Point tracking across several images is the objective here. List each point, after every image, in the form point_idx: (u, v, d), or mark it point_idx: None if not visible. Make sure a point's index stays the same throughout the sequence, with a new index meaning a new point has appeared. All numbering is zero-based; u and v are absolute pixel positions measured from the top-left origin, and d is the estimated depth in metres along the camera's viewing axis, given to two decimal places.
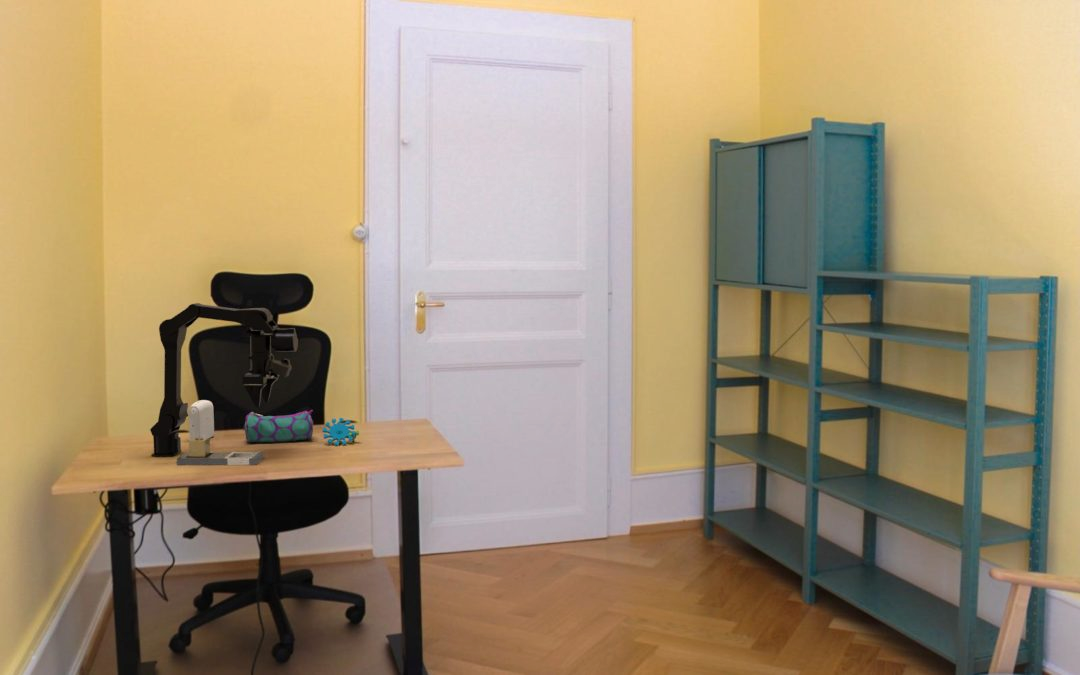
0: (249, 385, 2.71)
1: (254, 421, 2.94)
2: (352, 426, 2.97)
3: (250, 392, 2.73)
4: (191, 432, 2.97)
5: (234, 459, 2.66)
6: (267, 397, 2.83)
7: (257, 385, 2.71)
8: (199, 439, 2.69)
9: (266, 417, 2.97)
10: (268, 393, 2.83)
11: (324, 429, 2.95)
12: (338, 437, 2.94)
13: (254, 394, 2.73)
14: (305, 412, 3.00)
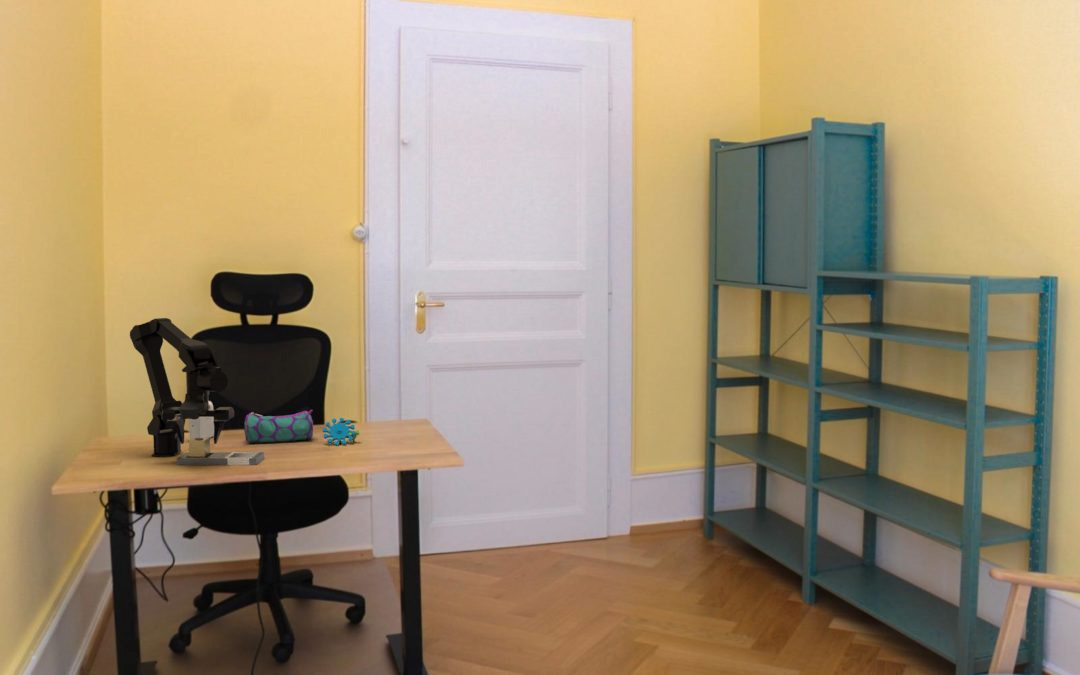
0: None
1: (254, 421, 2.94)
2: (352, 426, 2.97)
3: None
4: (191, 432, 2.97)
5: (234, 459, 2.66)
6: None
7: None
8: (199, 439, 2.69)
9: (266, 417, 2.97)
10: None
11: (324, 429, 2.95)
12: (338, 437, 2.94)
13: None
14: (305, 412, 3.00)
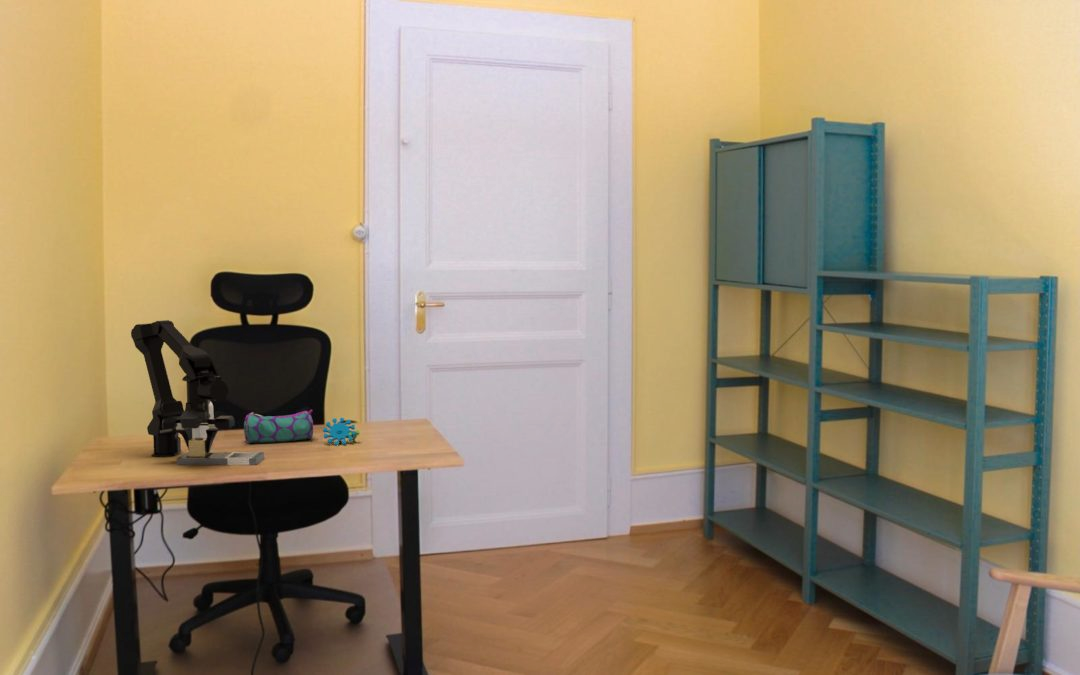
0: None
1: (255, 421, 2.94)
2: (352, 426, 2.97)
3: None
4: None
5: (234, 459, 2.66)
6: None
7: None
8: (199, 439, 2.69)
9: (266, 417, 2.96)
10: None
11: (324, 429, 2.95)
12: (338, 437, 2.94)
13: None
14: (305, 412, 3.00)
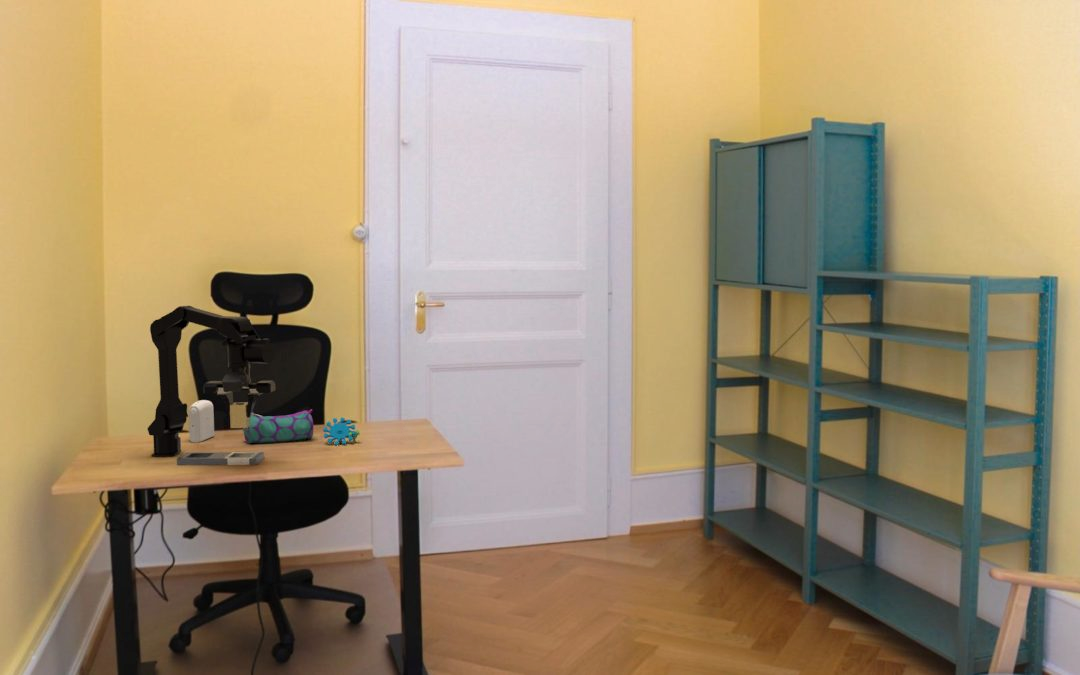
0: None
1: (255, 421, 2.94)
2: (353, 426, 2.97)
3: None
4: (191, 432, 2.97)
5: (234, 459, 2.66)
6: None
7: None
8: (240, 403, 2.68)
9: (266, 417, 2.96)
10: None
11: (325, 428, 2.95)
12: (338, 437, 2.94)
13: None
14: (305, 412, 3.01)
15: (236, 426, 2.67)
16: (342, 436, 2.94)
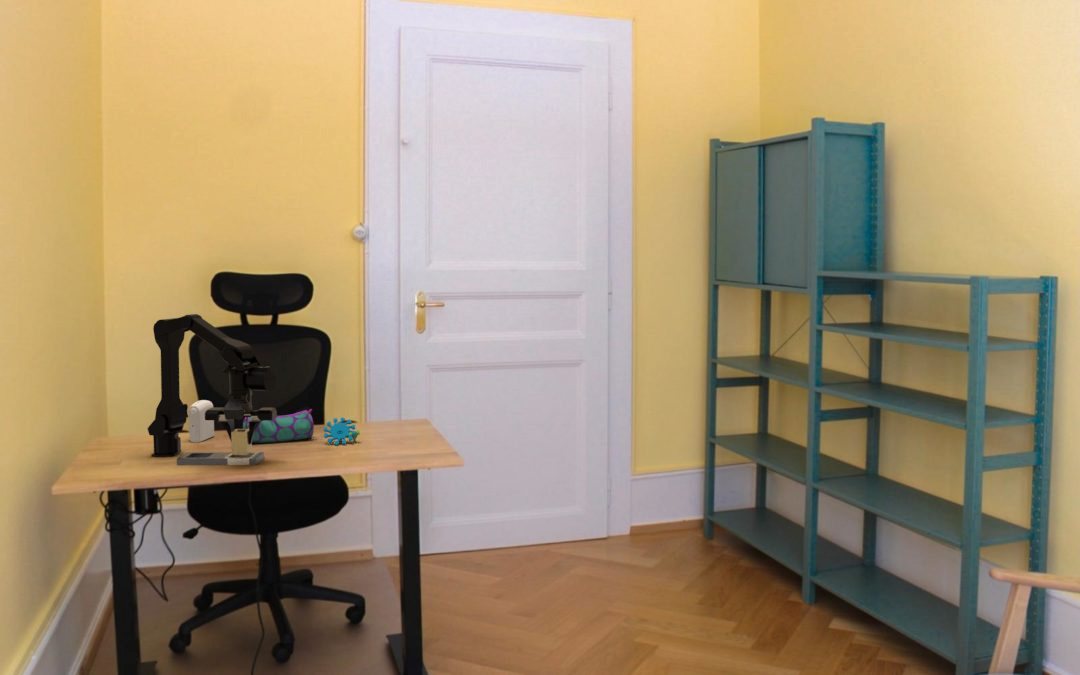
0: None
1: None
2: (353, 426, 2.97)
3: None
4: (191, 432, 2.97)
5: (234, 459, 2.66)
6: None
7: None
8: (241, 430, 2.69)
9: None
10: None
11: (325, 428, 2.96)
12: (338, 437, 2.94)
13: None
14: (305, 411, 3.01)
15: (237, 453, 2.68)
16: (342, 436, 2.95)
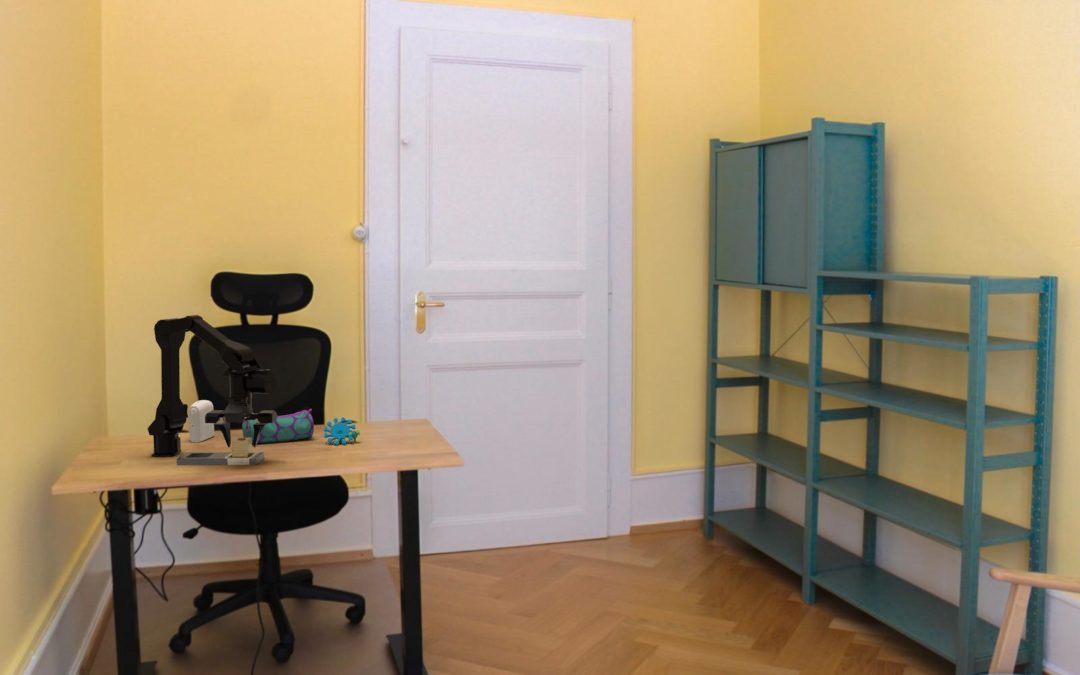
0: None
1: None
2: (353, 426, 2.97)
3: None
4: (191, 432, 2.97)
5: (234, 459, 2.66)
6: None
7: None
8: (242, 439, 2.69)
9: None
10: None
11: (325, 428, 2.96)
12: (338, 436, 2.94)
13: None
14: (304, 411, 3.02)
15: None
16: (342, 436, 2.95)
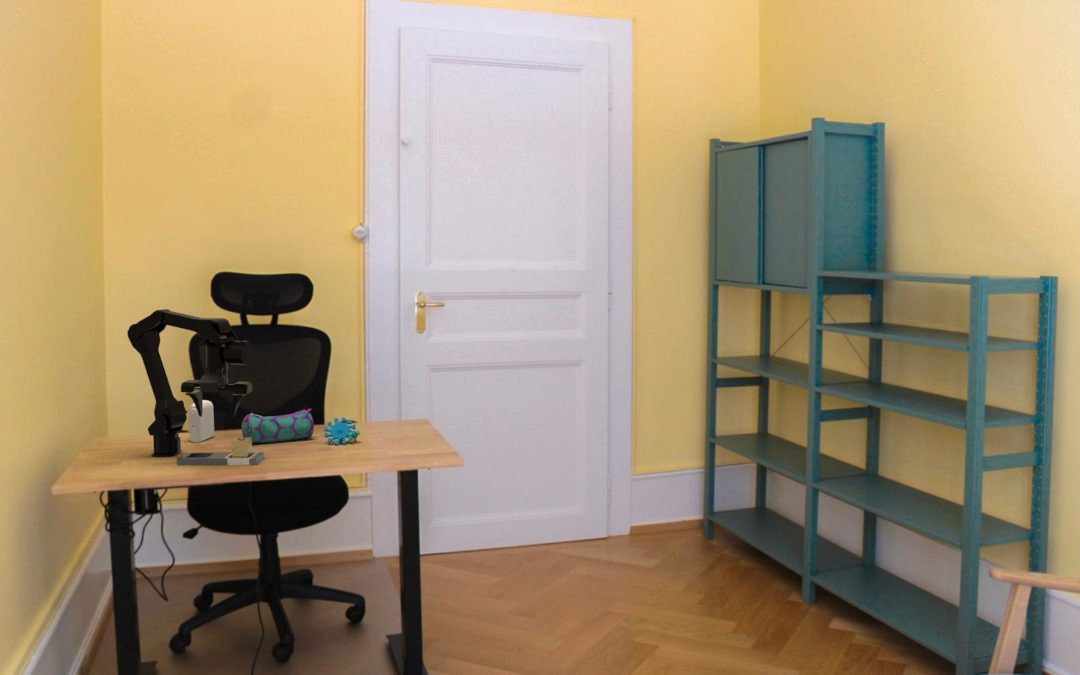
0: None
1: (256, 422, 2.93)
2: (353, 426, 2.97)
3: None
4: (191, 432, 2.97)
5: (234, 459, 2.66)
6: None
7: None
8: (242, 439, 2.69)
9: (267, 417, 2.96)
10: None
11: (325, 428, 2.96)
12: (338, 436, 2.95)
13: None
14: (304, 411, 3.02)
15: None
16: (342, 436, 2.95)
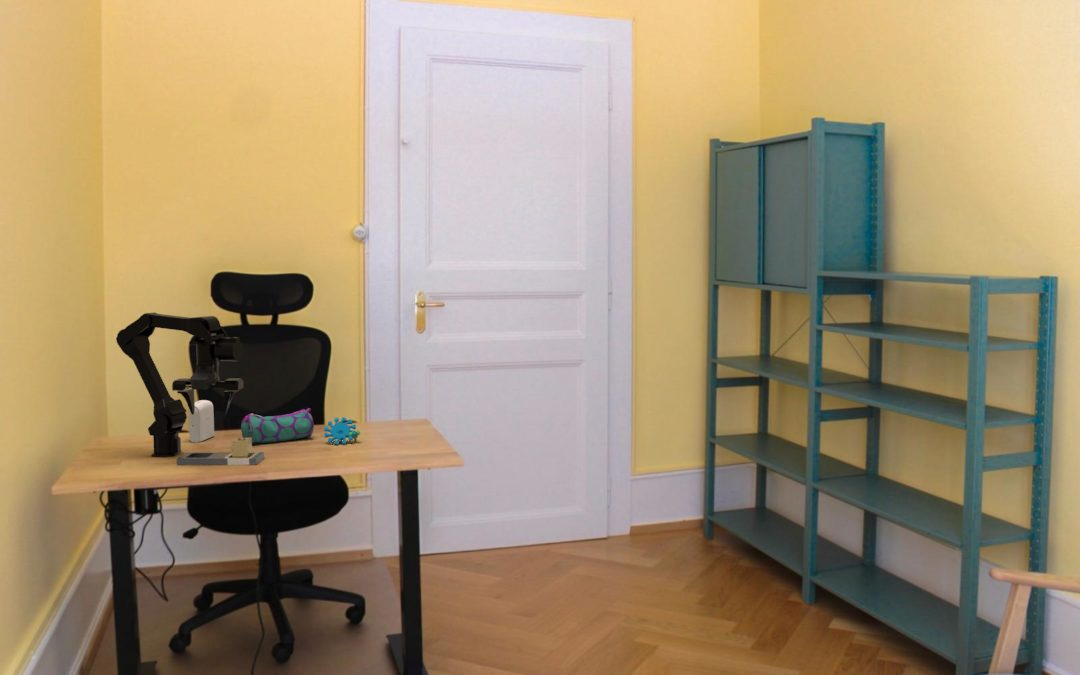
0: None
1: (257, 422, 2.93)
2: (353, 426, 2.98)
3: None
4: (191, 432, 2.97)
5: (234, 459, 2.66)
6: None
7: None
8: (242, 439, 2.69)
9: (267, 417, 2.96)
10: None
11: (325, 428, 2.96)
12: (338, 436, 2.95)
13: None
14: (303, 410, 3.03)
15: None
16: (342, 436, 2.95)
